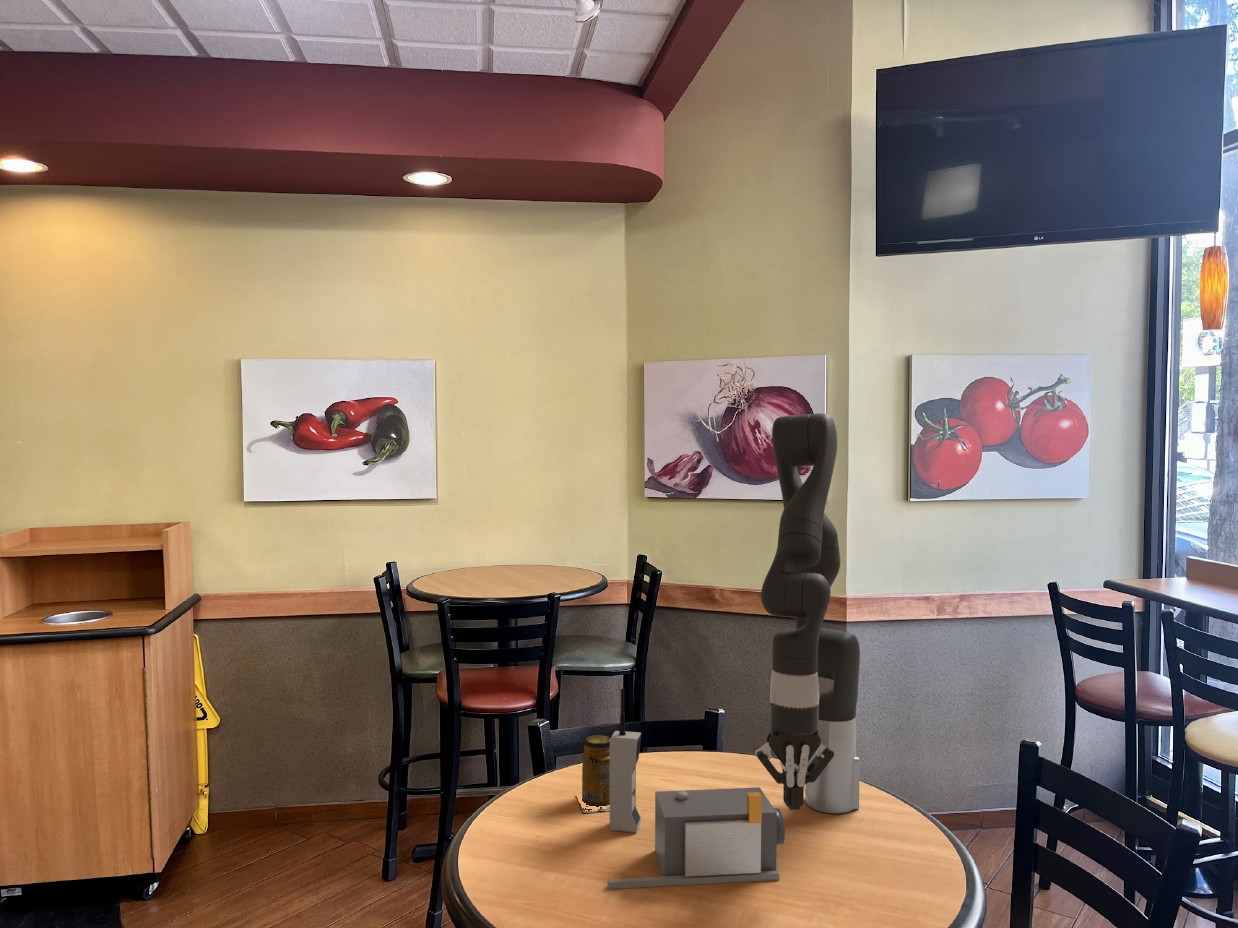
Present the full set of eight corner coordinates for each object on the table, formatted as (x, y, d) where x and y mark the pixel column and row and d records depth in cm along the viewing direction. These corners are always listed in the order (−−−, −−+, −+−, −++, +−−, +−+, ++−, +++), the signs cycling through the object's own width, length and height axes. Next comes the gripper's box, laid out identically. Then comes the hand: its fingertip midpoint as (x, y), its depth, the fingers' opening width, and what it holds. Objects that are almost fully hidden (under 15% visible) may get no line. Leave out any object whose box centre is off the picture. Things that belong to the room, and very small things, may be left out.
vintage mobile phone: (637, 833, 149) (637, 692, 148) (609, 830, 150) (609, 690, 149) (640, 824, 153) (641, 686, 152) (613, 821, 154) (614, 684, 153)
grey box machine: (770, 844, 145) (771, 782, 145) (791, 879, 133) (792, 811, 133) (601, 852, 142) (602, 788, 142) (608, 888, 130) (608, 819, 130)
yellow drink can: (611, 792, 167) (612, 732, 166) (621, 810, 158) (621, 746, 158) (575, 795, 165) (575, 734, 165) (582, 814, 157) (583, 749, 157)
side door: (758, 868, 134) (759, 791, 134) (761, 873, 133) (761, 796, 132) (683, 872, 133) (684, 795, 133) (685, 877, 131) (686, 799, 131)
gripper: (826, 691, 138) (825, 797, 138) (747, 692, 136) (746, 799, 137) (843, 704, 130) (842, 816, 131) (759, 706, 129) (758, 819, 129)
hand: (793, 807), depth 134 cm, fingers closed
